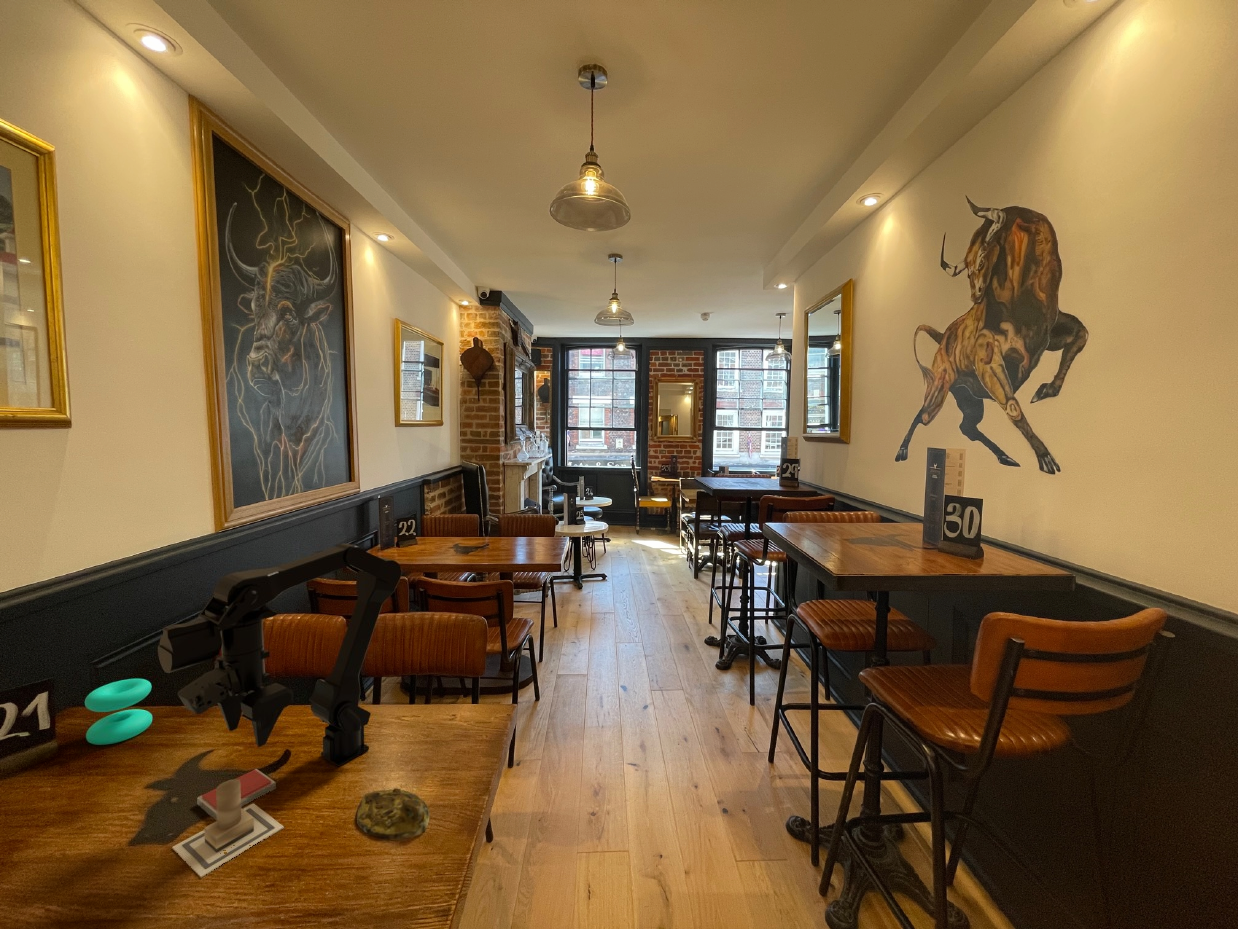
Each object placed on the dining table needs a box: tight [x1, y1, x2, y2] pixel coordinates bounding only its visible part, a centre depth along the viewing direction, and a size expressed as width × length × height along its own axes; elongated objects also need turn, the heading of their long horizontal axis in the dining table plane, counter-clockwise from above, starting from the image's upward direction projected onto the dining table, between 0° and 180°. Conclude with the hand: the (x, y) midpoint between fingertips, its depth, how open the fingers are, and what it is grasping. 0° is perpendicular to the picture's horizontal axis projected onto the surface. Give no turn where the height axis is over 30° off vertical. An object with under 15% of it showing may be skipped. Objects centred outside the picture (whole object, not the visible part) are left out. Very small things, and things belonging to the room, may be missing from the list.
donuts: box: [84, 678, 153, 746], centre depth 107 cm, size 10×10×10 cm
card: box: [171, 803, 285, 879], centre depth 80 cm, size 11×10×1 cm
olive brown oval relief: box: [356, 787, 430, 841], centre depth 85 cm, size 9×5×15 cm
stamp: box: [203, 778, 254, 853], centre depth 80 cm, size 5×4×8 cm
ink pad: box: [196, 768, 277, 821], centre depth 89 cm, size 9×7×2 cm
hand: (247, 737), depth 87 cm, fingers open, 9 cm apart
